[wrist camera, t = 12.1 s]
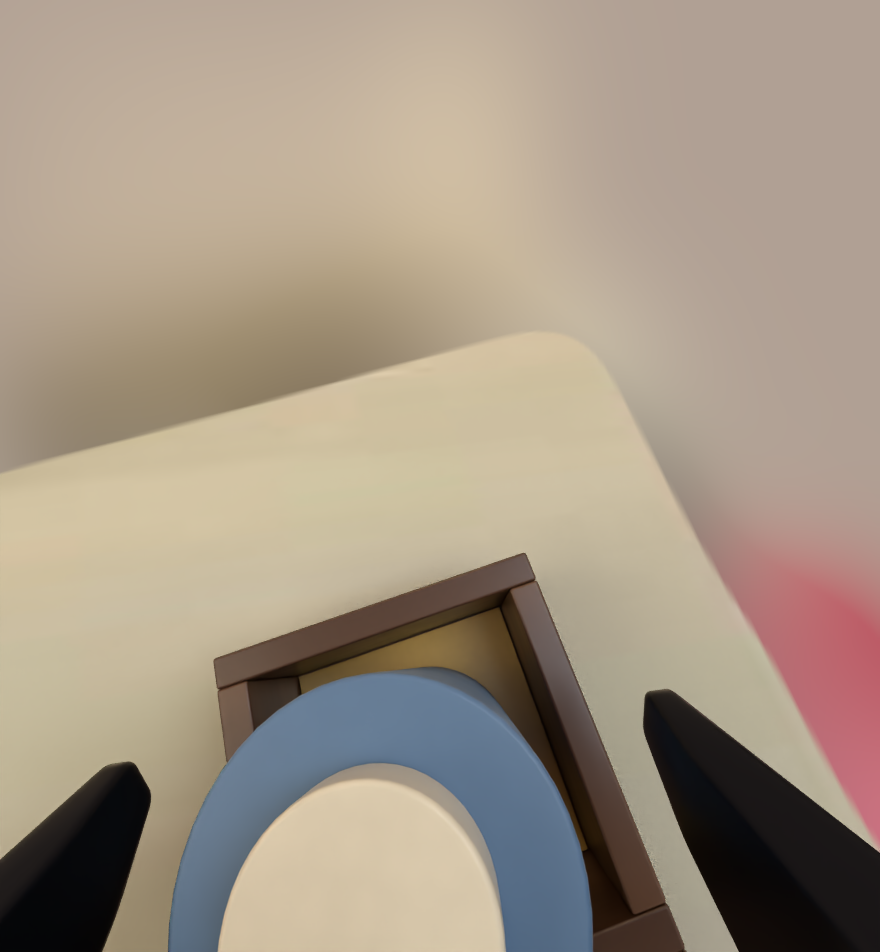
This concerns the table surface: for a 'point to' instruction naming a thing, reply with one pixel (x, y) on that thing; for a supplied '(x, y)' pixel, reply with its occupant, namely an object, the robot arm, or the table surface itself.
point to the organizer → (512, 685)
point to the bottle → (384, 830)
